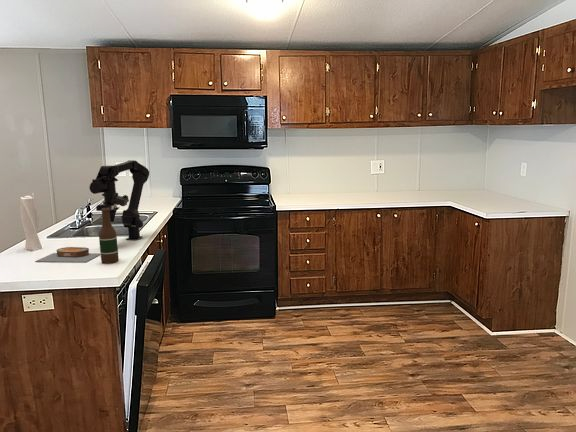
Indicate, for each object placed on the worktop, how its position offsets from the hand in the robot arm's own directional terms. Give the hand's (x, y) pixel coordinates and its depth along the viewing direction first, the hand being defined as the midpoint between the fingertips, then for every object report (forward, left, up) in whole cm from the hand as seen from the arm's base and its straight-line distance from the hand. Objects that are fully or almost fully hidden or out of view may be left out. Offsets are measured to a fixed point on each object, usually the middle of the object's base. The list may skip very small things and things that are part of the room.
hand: (112, 222), depth 236 cm
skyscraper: (+8, -38, -12) cm, 41 cm away
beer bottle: (+29, +12, -12) cm, 34 cm away
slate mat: (+24, -10, -12) cm, 29 cm away
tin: (+15, -10, -11) cm, 21 cm away
